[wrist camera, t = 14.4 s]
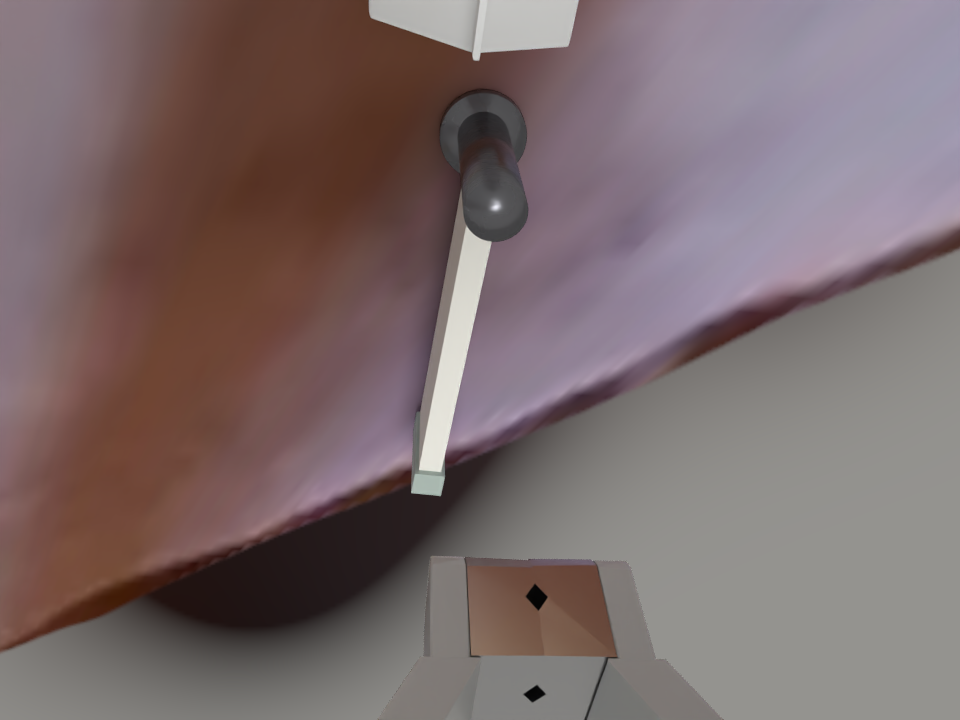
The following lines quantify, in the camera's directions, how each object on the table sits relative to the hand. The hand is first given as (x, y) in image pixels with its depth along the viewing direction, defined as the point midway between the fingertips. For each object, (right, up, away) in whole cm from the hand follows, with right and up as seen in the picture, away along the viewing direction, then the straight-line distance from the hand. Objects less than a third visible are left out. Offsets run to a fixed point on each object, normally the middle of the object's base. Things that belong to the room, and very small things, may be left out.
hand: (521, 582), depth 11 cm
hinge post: (0, +17, +31) cm, 35 cm away
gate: (-3, +6, +37) cm, 38 cm away
